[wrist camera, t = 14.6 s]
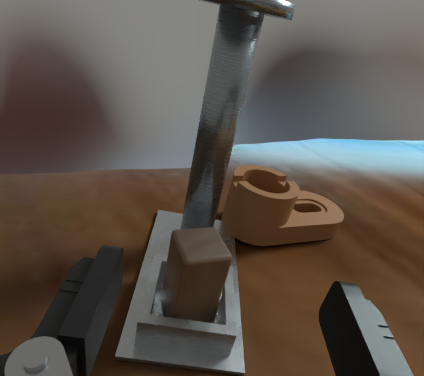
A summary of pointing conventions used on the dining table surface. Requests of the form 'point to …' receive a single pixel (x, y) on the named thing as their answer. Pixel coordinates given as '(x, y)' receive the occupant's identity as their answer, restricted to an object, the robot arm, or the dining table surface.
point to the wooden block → (195, 274)
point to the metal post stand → (202, 211)
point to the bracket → (276, 210)
